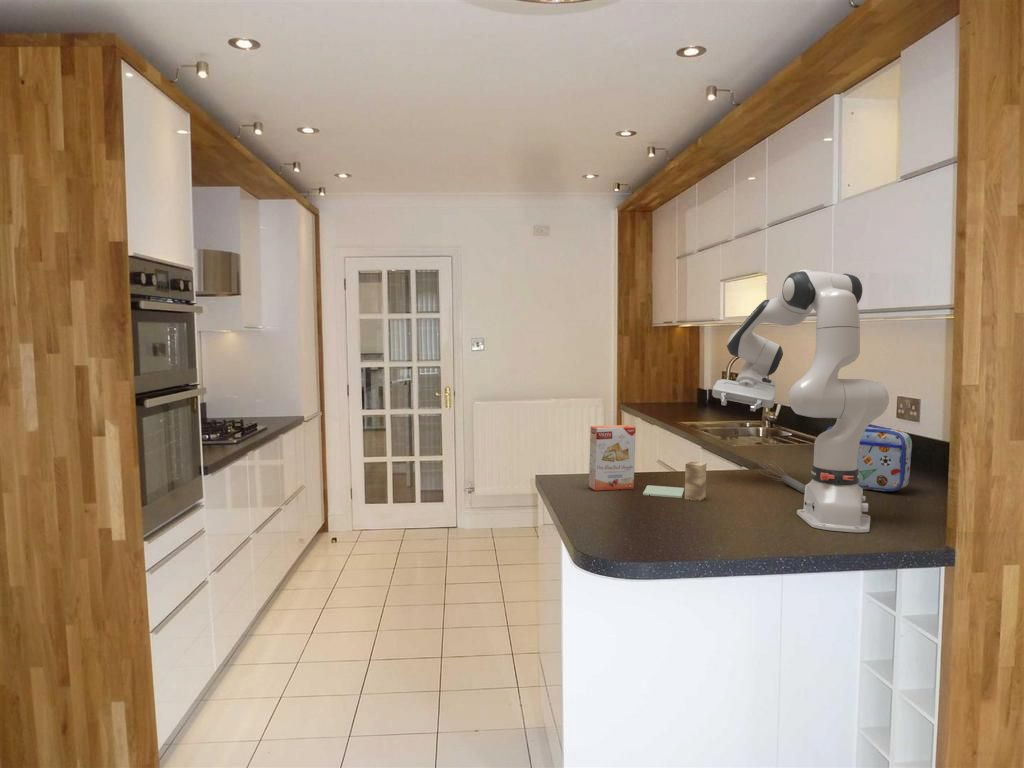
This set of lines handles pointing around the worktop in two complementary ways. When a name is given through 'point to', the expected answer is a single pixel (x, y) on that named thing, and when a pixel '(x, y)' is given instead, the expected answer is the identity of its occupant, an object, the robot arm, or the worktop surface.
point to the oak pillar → (695, 481)
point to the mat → (663, 491)
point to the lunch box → (883, 459)
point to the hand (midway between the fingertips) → (737, 406)
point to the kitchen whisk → (787, 479)
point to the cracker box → (612, 457)
